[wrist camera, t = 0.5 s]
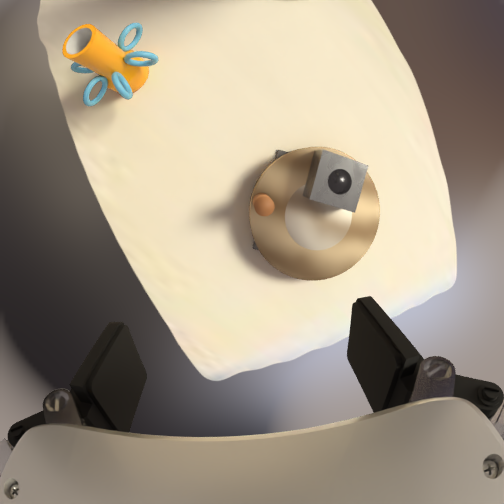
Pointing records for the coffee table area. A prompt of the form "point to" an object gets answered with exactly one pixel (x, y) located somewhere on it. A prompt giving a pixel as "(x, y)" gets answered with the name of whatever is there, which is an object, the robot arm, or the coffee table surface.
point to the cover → (335, 180)
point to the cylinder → (108, 60)
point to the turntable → (309, 221)
